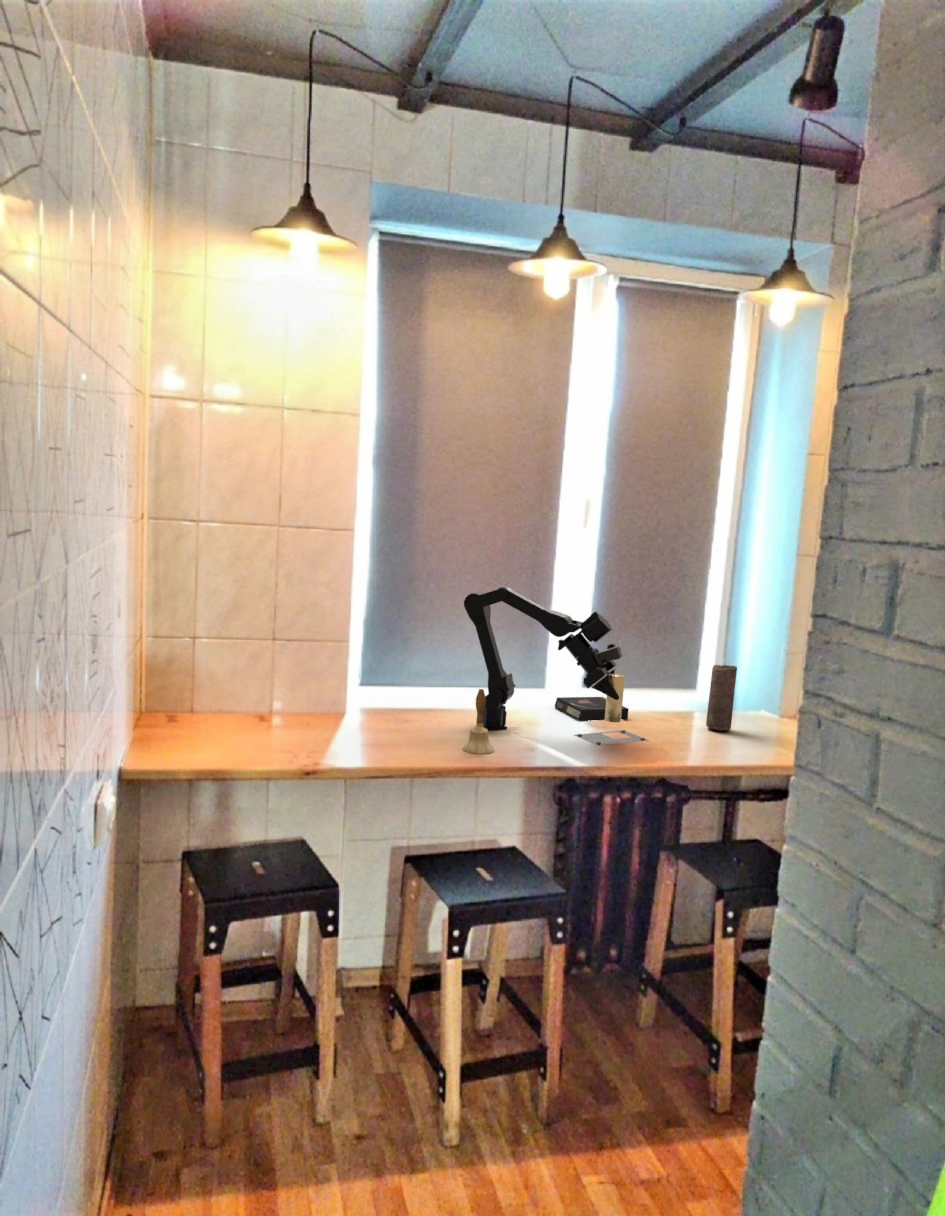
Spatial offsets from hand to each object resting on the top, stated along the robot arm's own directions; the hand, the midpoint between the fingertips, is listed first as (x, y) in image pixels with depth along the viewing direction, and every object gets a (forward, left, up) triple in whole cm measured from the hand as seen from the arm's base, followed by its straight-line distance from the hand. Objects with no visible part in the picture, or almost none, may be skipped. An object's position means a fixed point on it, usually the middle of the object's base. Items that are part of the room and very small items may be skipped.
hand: (619, 697), depth 253 cm
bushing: (-1, +1, -7) cm, 7 cm away
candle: (+43, +5, -14) cm, 46 cm away
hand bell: (-40, +8, -14) cm, 43 cm away
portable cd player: (+17, +33, -14) cm, 39 cm away
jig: (0, +3, -13) cm, 14 cm away
